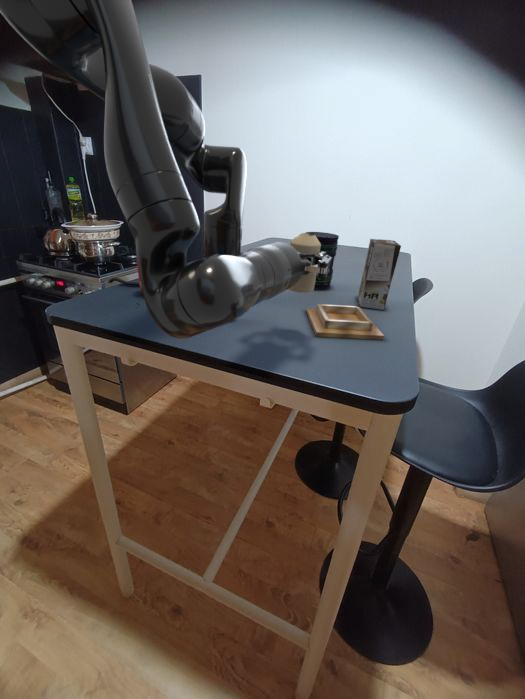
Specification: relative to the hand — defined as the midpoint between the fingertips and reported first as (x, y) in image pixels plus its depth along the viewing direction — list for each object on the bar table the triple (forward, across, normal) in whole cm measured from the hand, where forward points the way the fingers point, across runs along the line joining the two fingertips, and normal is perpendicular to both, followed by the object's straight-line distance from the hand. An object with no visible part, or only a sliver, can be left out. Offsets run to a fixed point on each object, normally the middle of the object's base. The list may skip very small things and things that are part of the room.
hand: (308, 254), depth 60 cm
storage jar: (+33, +9, +16) cm, 38 cm away
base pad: (+8, -7, +15) cm, 19 cm away
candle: (-3, 0, +6) cm, 7 cm away
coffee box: (+28, -9, +16) cm, 33 cm away
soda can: (-2, +39, +16) cm, 42 cm away
